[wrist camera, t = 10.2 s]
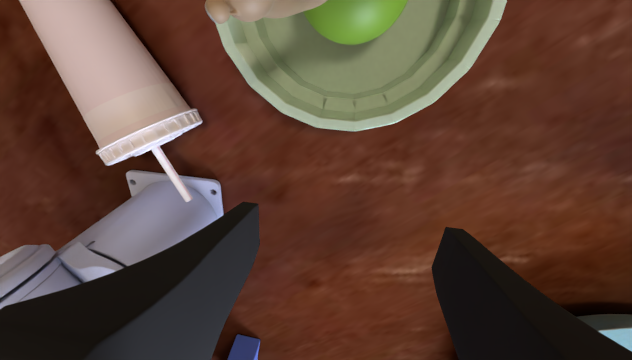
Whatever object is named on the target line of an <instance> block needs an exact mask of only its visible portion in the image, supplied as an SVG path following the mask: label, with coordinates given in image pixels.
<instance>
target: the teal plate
mask: <svg viewBox="0 0 632 360" xmlns="http://www.w3.org/2000/svg"><path fill="white" fill-rule="evenodd" d="M577 318H578V319H580V320H581V321H583V322H584V323H586V324H588V325H589V326H591V327H592V328H594V329H595V330H597V331H599V332H600V333H602V334H603V335H605V336H607V337H608V338H610V339H612V340H613V341H615V342H617V343H618V344H620V345H622V346H623V347H625V348H627V349H628V350H630V351H632V315H629V314H600V315H587V316H579V317H577Z"/></svg>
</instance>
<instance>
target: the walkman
mask: <svg viewBox="0 0 632 360" xmlns="http://www.w3.org/2000/svg"><path fill="white" fill-rule="evenodd" d="M259 345H260V339H256V338H252V337H247V336H243V335H239V334H237V336H236V339H235V341H234V344H233V346H232V349H231V351H230V354H229V356H228V359H227V360H257V358H258V351H259Z"/></svg>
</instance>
